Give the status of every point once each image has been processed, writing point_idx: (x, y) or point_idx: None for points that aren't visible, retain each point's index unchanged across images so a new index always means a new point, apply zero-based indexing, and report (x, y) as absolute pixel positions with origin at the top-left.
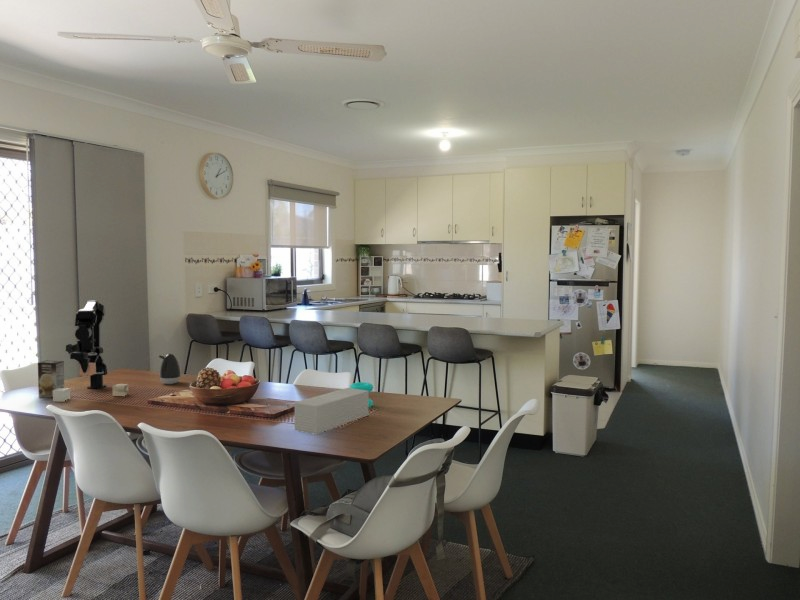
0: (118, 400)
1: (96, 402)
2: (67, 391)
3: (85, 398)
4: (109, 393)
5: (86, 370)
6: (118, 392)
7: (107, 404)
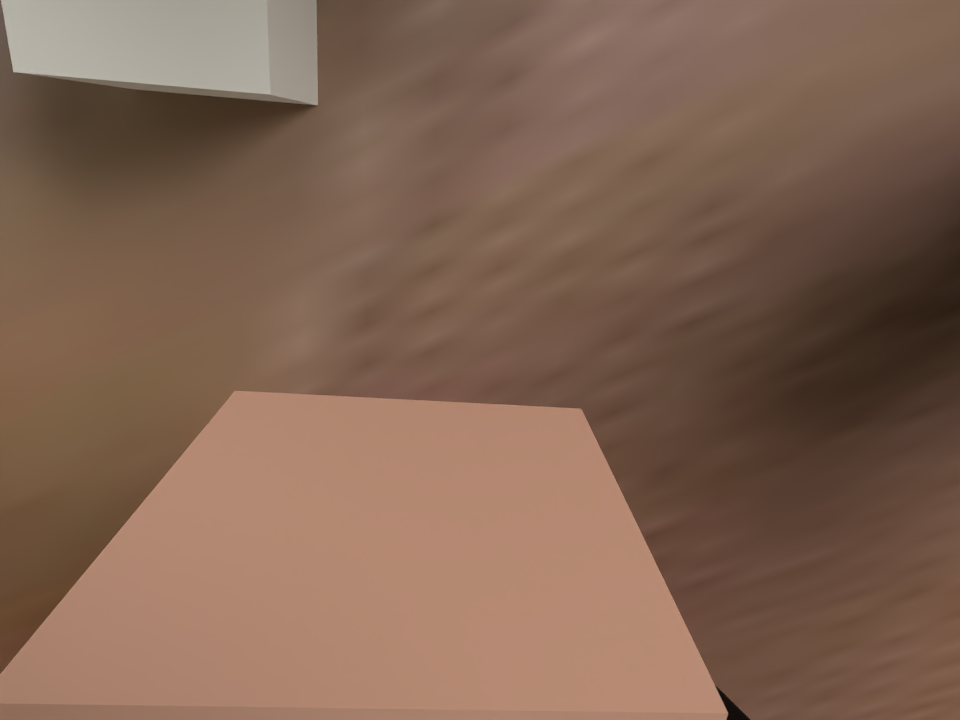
0: None
1: None
2: (191, 89)
3: (356, 324)
4: (650, 492)
5: None
6: None
7: None
